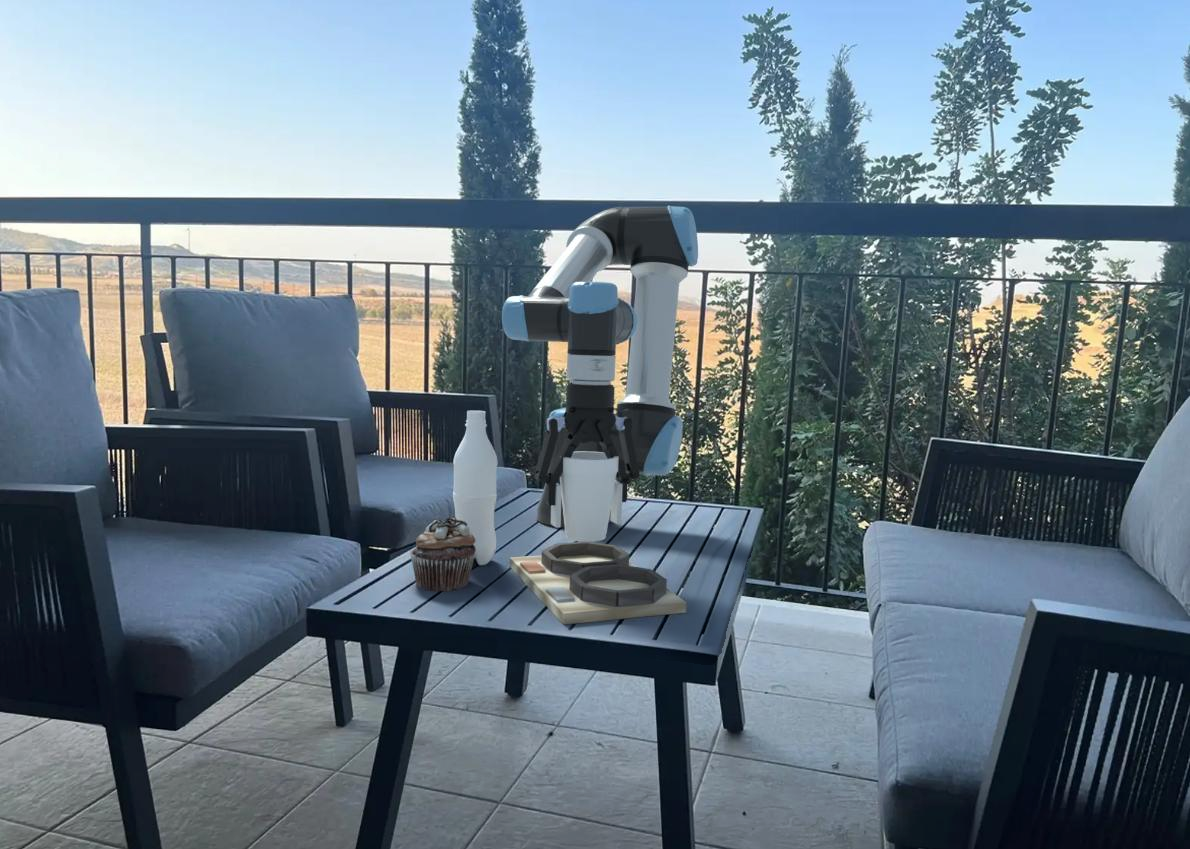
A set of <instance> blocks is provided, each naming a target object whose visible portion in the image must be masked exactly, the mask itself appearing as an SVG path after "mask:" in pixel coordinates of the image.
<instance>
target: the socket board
mask: <svg viewBox="0 0 1190 849" xmlns="http://www.w3.org/2000/svg"><path fill="white" fill-rule="evenodd" d="M509 568H510V569H512V571H513V572H514V573H515V574H516V575H517V576H518V577H519V578H520V579H521V581H523V582H524V584H525V585H526V586H527V587H528V588H529V589H530V590H531V591H532V592H533V593H534V595H536V596H537V598H538V599H539V600H540V601H541V602H542V603H543V604H544V606H546V607H547V609H549V611H550V612H551V613H552V614H553V616H555V617H556V618H557V620H558V621H560V623H561V624H562V625H572V624H573V625H574V624H583V623H591V622H592V623H593V622H601V621H602V622H603V621H612V620H623V619H625V620H626V619H632V618H643V617H645V618H646V617H652V616H664V615H672V614H673V615H675V614H685V613H687V601H685V600H684V599H683V598H681V597H680V596H678V595H677V594H675V593H674V592H672V591H671V590H670V589H668V588H667V585H668V584H667V583H668V581H667V580H668V579H667V578H666V577H664V576H662V575H661V574H659V573H658V572H656V571H655V570H653V569H651V568H645V567H638V566H636V565H634V564H632V563H631V562H630V553H629V552H627V551H625V550H624V549H623V548H621V547H619V546H618V545H616V544H615V545H613V544H609V543H601V542H596V541H594V542H581V541H572V542H560V543H559V542H558V543H554V544H553V545H550V546H548V547H546V548H544V549H542V550H541V555H539V554H538V555H530V556H527V555H525V556H514V557H513V556H511V557H509Z"/></svg>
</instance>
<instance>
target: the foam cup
mask: <svg viewBox="0 0 1190 849" xmlns="http://www.w3.org/2000/svg"><path fill="white" fill-rule="evenodd" d="M618 460H619V457H618V456H614V457H613V458H611V459H607V457H606V455H605V453H603V452H589V451H576V452H573V454H572V456H571V458H568V457H563V473H562V475H561V476H560V485H561V486H562V493H561V495H562V505H563V515H564V525H565V527H564V532H565V537H566V539H568V540H571V541H573V542H600V541H603V540H605V539H606V537H607V534H608V533H607V532H608V526H609V523H608V522H609V516H610V510H611V504H612V498H613V492H614V486H615V481H617V480H616V479H617V478H616V474H617V472H618Z"/></svg>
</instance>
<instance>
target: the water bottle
mask: <svg viewBox="0 0 1190 849" xmlns="http://www.w3.org/2000/svg"><path fill="white" fill-rule="evenodd" d="M465 422H466V423H465V424H464V427H466V428H465V432H464V433H465V434H464V435H463V437H462V440H461V442H460V443H459V446H458V448H457V450H456V451H455V454H454V457H453V461H452V462H453V463H452V464H453V492H452V501H453V505H454V513H455V517H456V519H457V520H462V521H464V522H466V523H467V527H468V528H469V531H470V533H471V534H472V535H473V536H474V538H475V543H474V544H473V545H474V546H475V549H476V551H475V556H474V559H475V561H476V562H477V564H478V566H485V565H487V564H489V562H490V561H492V560H493V558H494V555H495V554H496V549H497V536H496V530H495V519H494V518H495V509H496V508H495V506H496V504H497V503H496V502H497V499H498V492H497V485H498V484H497V482H498V481H497V477H498V476H497V474H498V470H497V469H498V464H499V463H498V462H499V461H498V456H497V453H496V451H495V450H494V449H495V448H494V447H493V445H492V443H491V442H490V439H489V437H488V434H487V427H488V424H487V423H486V422H487V421H486V411H484V410H467V411H466V420H465Z"/></svg>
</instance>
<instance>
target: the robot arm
mask: <svg viewBox="0 0 1190 849" xmlns="http://www.w3.org/2000/svg"><path fill="white" fill-rule="evenodd" d="M692 212H693V211H691V209H689V208H688V207H686V206H671V205H667V206H664V205H663V206H617V207H611V208H608V209H605V210H602V211H600V212H598V213H596V214H594V215H592V216H591V217H589V218H587V219H586V220H585V221H583V222H582V223H580V224H579V225H578V226H577V227H576V228H575V229H574V230H573V231H572V232H571V234H570V235H569V236H568V238H567V242H566V246H565V247H566V248H565V250H563V252H562V253H561V254H560V256H559V257H558V258H557V259H556V260H555V261H554V263H553V265H552V266H550V268H549V269H548V271H547V272H546V273H545V274H544V275H543V277H542V278H541V279H540V281H539V282H538V283H537V284H536V286H535V287H534V288H533V290H532V291H530V293H529V294H528V295H527V296H526V295H523V294H519V295H513V296H509V297H508V298H506V300H505V301H504V303H503V307H502V312H501V323H502V330H503V332H504V334H505V335H506V336H507V338H509V339H510V340H515V341H516V340H517V341H525V342H526V343H527V342H553V343H554V342H555V343H557V342H558V343H567V358H566V363H567V364H566V377H565V378H566V379H567V381H569V382H568V383H567V384H566V389H565V394H566V395H565V407H563V408H557V409H554V410H553V411H551V412H550V414H549V415H548V417H546V418H545V420H544V422H545V435H544V437H543V438H544V439H543V442H542V445H541V449H540V452H539V455H538V456H539V457H538V460H537V464H536V467H535V470H534V475H533V476H534V479H535V480H538V481H539V482H542V483H544V487H543V490H542V492H541V496H540V498H539V501H538V504H537V506H536V507H537V508H536V521H538V522H539V523H540V524H544V525H547V526H552V527H554V528H565V525H564V515H563V505H562V495H561V493H562V486H561V485H560V476H561V475H562V473H563V457H568V458H571V456H572V454H573V452H576V451H589V452H603V453H605V455H606V457H607V459H611V458H613V457H614V456H618V457H619V460H618V472H617V474H616V479H617V480H615V486H614V492H613V498H612V504H611V510H610V516H609V522H608V524H610V523H611V522H612V523H613V524H615V525H622V514H623V513H622V510H623V503H627V501H628V486H629V484H630V483H631V481H632V480H635V479H639V478H640V475H643V476H646V477H649V476H666V475H668V474H670V472H671V471H672V470H673V469H674V467H675V466H676V463H677V461H678V457H679V455H680V451H681V446H682V440H683V428H684V424H683V420H682V418H680V417H678V416H676V410H677V409H676V407H675V406H674V405H673V403H672V402H671V401H670V390H671V389H670V388H671V380H672V370H673V369H672V368H673V359H674V358H673V356H674V346H675V336H676V334H675V333H676V323H677V316H678V315H677V314H678V312H677V311H678V302H679V290H680V288H679V287H680V283H681V282H682V281H684V280H685V279H686V278H687V277H688V275H689V267H690V268H691V267H694V266H696V265H697V264H698V259H699V247H698V246H699V241H698V240H699V239H698V232H697V231H698V230H697V227H696V226H697V225H696V222H695V218H694V214H693V213H692ZM617 265H618V266H619V265H620V266H621V265H622V266H623V265H624V266H630V269H629V272H630V273H631V275H632V276H633V277H634V278H635V279H636V284H635V293H634V294H635V297H634V303H633V304H634V306H632V305H631V304H630V303H629V302H626V301H625V300H624V299H622V298H619V297H618V296H619V295H618V292H619V290H618V286H617V285H616V284H615V283H612V282H607V281H606V282H605V281H593V279H594V277H595V276H596V275H597V273H598V272H602V271H603V270H605V269H606V268H607V267H609V266H617ZM628 340H630V346H629V357H628V358H629V359H628V368H627V379H626V391H625V396H624V397H622V398H621V400H619V401H618V403H617V404H616V412H614V407H615V388H616V387H615V386H614V385H613V384H611V383H612V382H614V380H616V351H617V350H616V349H617V348H616V346H617V345H620V344H622V343H624V342H627V341H628Z"/></svg>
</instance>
